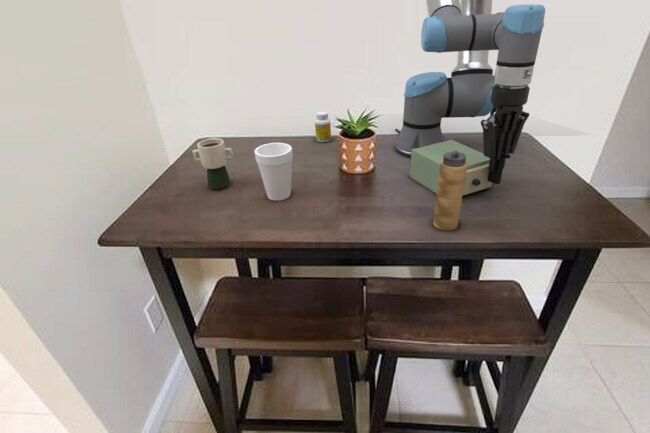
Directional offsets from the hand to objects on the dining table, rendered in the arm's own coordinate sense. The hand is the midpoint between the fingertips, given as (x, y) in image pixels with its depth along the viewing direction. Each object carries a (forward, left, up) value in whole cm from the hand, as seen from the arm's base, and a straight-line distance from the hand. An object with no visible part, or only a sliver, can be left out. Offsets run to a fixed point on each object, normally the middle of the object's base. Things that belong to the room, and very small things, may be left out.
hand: (493, 181), depth 96 cm
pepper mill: (+5, -20, -3) cm, 20 cm away
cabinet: (-11, -5, -3) cm, 12 cm away
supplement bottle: (-59, -20, -4) cm, 62 cm away
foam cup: (-28, -48, -4) cm, 55 cm away
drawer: (-8, -5, -2) cm, 10 cm away
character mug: (-42, -61, -4) cm, 74 cm away
